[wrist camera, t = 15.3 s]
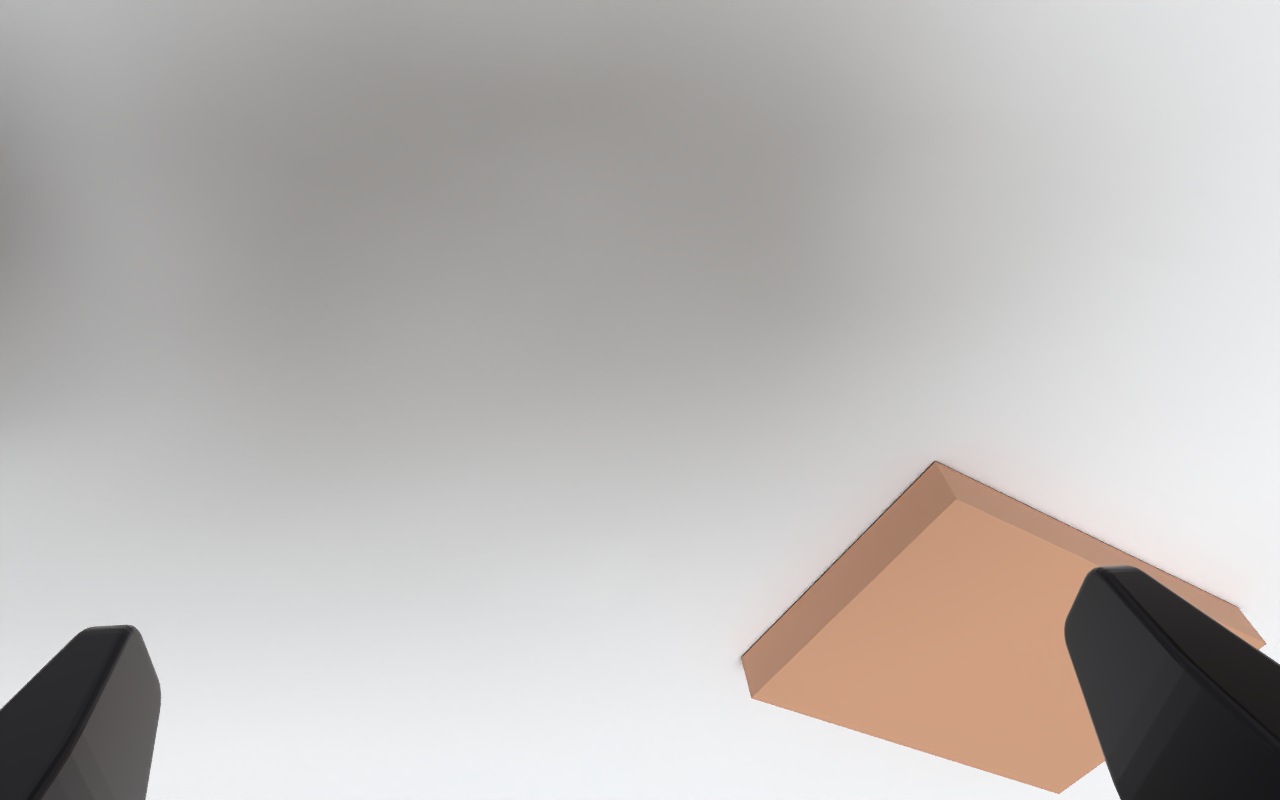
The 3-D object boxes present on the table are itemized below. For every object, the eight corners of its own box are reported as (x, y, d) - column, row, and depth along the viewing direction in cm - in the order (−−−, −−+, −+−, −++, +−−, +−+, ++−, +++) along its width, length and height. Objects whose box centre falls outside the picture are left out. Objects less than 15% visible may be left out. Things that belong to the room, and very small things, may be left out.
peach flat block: (741, 657, 31) (751, 697, 30) (935, 461, 27) (956, 498, 26) (1040, 756, 37) (1059, 793, 35) (1237, 607, 32) (1266, 643, 31)
